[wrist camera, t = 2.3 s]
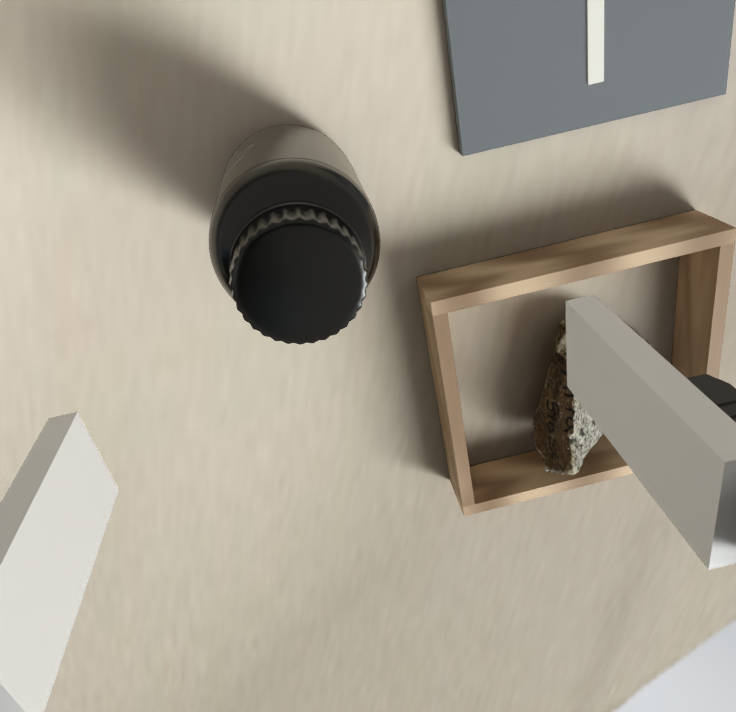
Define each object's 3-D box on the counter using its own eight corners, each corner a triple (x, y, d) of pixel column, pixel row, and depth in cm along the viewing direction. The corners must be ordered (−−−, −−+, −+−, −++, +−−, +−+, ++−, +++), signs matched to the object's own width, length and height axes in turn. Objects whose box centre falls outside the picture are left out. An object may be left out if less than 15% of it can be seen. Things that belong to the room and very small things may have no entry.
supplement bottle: (207, 132, 29) (174, 196, 19) (347, 114, 30) (391, 167, 19) (237, 266, 33) (223, 382, 22) (362, 247, 33) (406, 353, 23)
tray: (450, 480, 42) (464, 516, 39) (416, 277, 34) (430, 302, 31) (677, 423, 43) (709, 454, 40) (695, 209, 35) (736, 228, 32)
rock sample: (687, 453, 39) (652, 497, 32) (570, 447, 44) (518, 484, 37) (673, 292, 38) (634, 303, 31) (555, 304, 43) (499, 316, 36)
